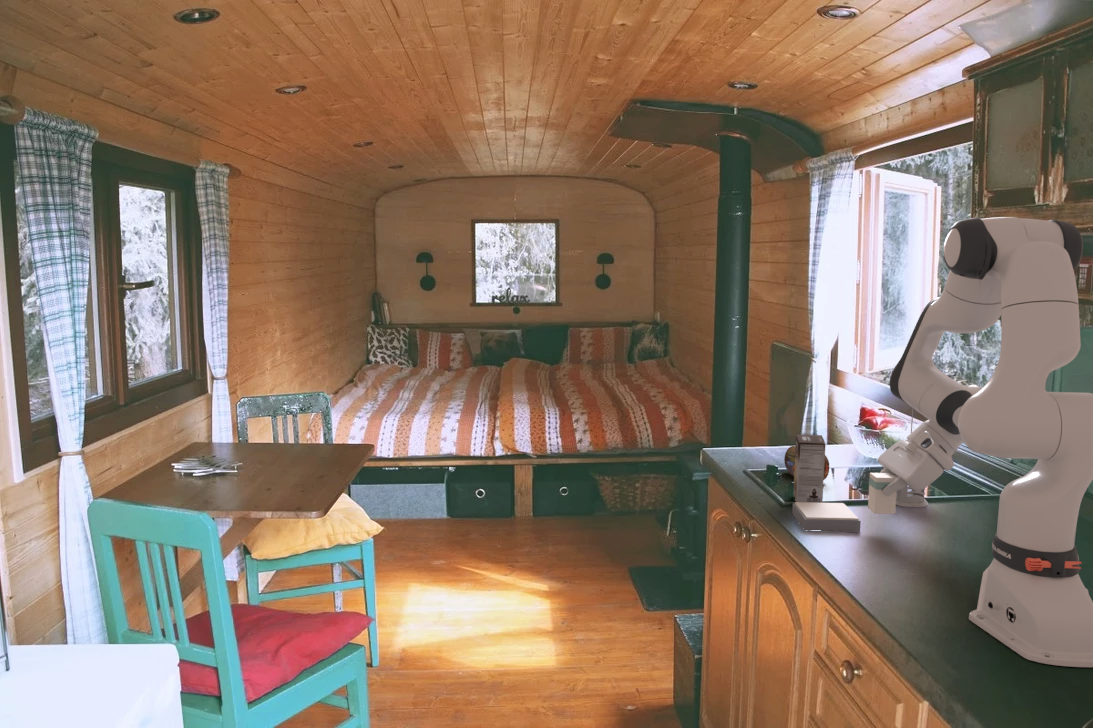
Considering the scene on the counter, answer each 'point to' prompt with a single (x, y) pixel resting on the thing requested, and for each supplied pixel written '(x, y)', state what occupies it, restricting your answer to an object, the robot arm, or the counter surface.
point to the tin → (790, 462)
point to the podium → (826, 517)
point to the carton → (881, 494)
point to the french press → (910, 493)
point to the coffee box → (809, 468)
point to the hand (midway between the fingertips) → (879, 489)
